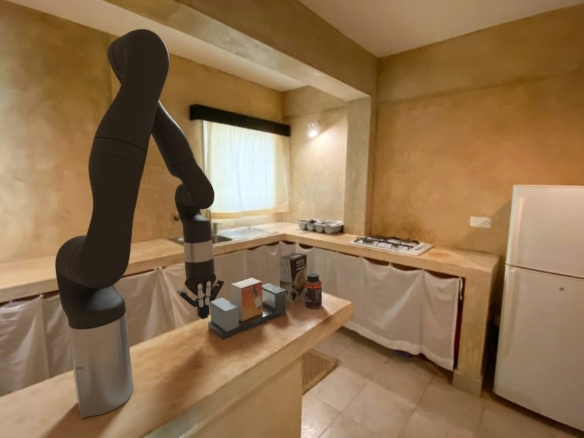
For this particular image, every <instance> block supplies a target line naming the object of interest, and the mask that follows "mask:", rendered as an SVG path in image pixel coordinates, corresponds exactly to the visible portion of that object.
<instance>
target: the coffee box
mask: <svg viewBox="0 0 584 438" xmlns="http://www.w3.org/2000/svg"><path fill="white" fill-rule="evenodd" d="M307 257H308V256H307V254H306V253H299V252H298V253H297V252H293V253H288V254H286V255H283V256H280V257H279V287H280V288H282V289H285V290H286V303H290V304H295V303H297V302H298V301H300V300H301V299H303V298H305V281H306V280H307V274H308V271H307V270H308V269H307V268H308V264H307V260H308V258H307Z"/></svg>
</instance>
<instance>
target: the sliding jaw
mask: <svg viewBox="0 0 584 438" xmlns="http://www.w3.org/2000/svg"><path fill="white" fill-rule="evenodd" d="M209 311H210V321H213V322H214V323H215V324H217V325H218V326H219V327H221V328H222V329H223V330H225V331H226V332H227V331H229V330H232V329H234V328H237V327H239V320H238V306H236V305H234V304H232V301H229V300H227V299H226V298H224V297H219V298H216V299H215V300H214V301H211V302H210V303H209Z"/></svg>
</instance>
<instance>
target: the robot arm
mask: <svg viewBox="0 0 584 438" xmlns="http://www.w3.org/2000/svg"><path fill="white" fill-rule="evenodd" d="M106 53H107V60H108V63H109V65H110V67H111V69H112V72H113V74H114V75H115V77H116V78H117V80H118V82H119V84H120V86H119V89H118V91H117V94H116V95H115V97H114V99H113V100H112V102H111V103H110V105H109V107H108V108H107V110H106V111H105V113H104V115H103V117H102V118H101V120H100V122H99V124H98V126H97V129H96V130H95V133H94V137H93V140H92V144H91V148H90V153H89V157H88V169H87V170H88V171H87V172H88V179H89V185H90V189H91V195H92V213H91V216H90V217H91V218H90V222H89V224H88V228H87V231H86V235H85V234H84V235H78V236H73V237H72V238H69V239H68V240H66V241H65V242H64V243H63V244H62V245H61V246H60V247H59V249H58V251H57V253H56V257H55V263H54V268H55V269H54V270H55V277H56V283H57V288H58V289H57V290H58V294H59V299H60V304H61V307H62V310H63V312H64V314H65V316H66V319H67V323H68V331H69V338H70V344H71V353H72V359H71V362H72V368H73V377H74V384H75V393H76V400H77V401H78V402H77V406H78V411H79V416H80V420H83V419H86V418H88V417H94V416H95V417H96V416H99V415H103V414H107V413H109V412H111V411H113V410H116V409H117V408H120V406H122V405H123V404H124V403H126V402H127V401H128V400H129V399H130V398H131V396H132V395H133V392H134V378H133V370H132V369H133V368H132V361H131V359H132V358H131V349H130V341H129V328H128V319H127V310H126V308H127V307H126V300H125V298H124V297H123V296H122V295H121V293H119V292H118V290H117V288H116V286H115V285H116V284H117V283H118V282H119V281H120V280H121V279H122V278H123V276H124V275H125V273H126V271H127V269H128V267H129V262H130V258H131V249H132V240H133V239H132V238H133V228H134V218H135V212H136V206H137V203H138V198H139V193H140V192H139V191H140V188H141V182H142V177H143V173H144V170H145V167H146V161H147V156H148V153H149V152H148V151H149V146H150V145H149V144H150V140H151V136H152V138H153V140H154V142H155V144H156V147H157V148H158V151H159V153H160V155H161V158H162V160H163V162H164V164H165V166H166V169H167V171H168V172H169V174H170V175H171V176H172V177H175V178H177V179H179V180H180V181H181V183H180V184H178V186H177V187H176V188H175V193H174V202H175V207H176V210H177V213H178V214H177V215H178V217H179V219H180V223H181V224H182V231H183V232H182V234H183V257H184V259H183V260H184V270H185V271H184V272H185V281H184V286H183V287H182V288H181V289H178V290H177V291H176V294H177V296H179V297H180V298H182V299H183V300H184V301H186V302H187V304H189V305H191V306H192V307H193V308H196V312H197V314H196V315H197V316H198V317H199V318H200V319H201V320H205V319H207V318H208V317H209V316H210V302H211V301H214V300H216V299H217V297H218V295H219V293H220V291H221V290H222V288H223V285H224V283H225V282H224V280H222V279H219V278H217V276H216V274H215V271H216V270H215V251H214V245H213V239H212V238H213V237H212V225H211V221H210V220H209V219H208V218H207V217H205V216H204V215H202V214H203V213H202V212H201V210H206V209H209V208H210V207H211V206H212V205H213V204H214V202H215V190H214V187H213V185H212V183H211V181H210V180H209V178H208V176H207V175H206V174H205V172H204V171H203V168H201V167H200V165H199V164H198V162H197V160H196V157H195V154H194V152H193V150H192V147H191V145H190V142H189V140H188V138H187V136H186V134H185V133H184V131H183V130H182V128H181V127H180V126H179V125H178V123H177V122H176V121H175V120H174V118H172V116H171V115H170V113H168V111H167V110H166V109H165V107H164V106H163V104H162V103H161V101H160V98H161V95H162V92H163V89H164V88H165V84H166V80H167V77H168V75H169V72H170V62H171V61H170V54H169V51H168V48H167V46H166V44H165V42H164V40H163V39H162V37H161V36H160V35H158V34H157V33H156V32H154V31H153V30H150V29H145V28H138V29H134V30H130V31H128V32H127V33H125V34H123V35H122V36H119V37H118V38H115V39H114V40H113V41H112V42H111V43H110V44H109V46H108V48H107V51H106ZM189 291H190V292H191V293H192V294H193V297H194V299H193V298H192V297H190V296H189V294H190V292H189Z"/></svg>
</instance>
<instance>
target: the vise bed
mask: <svg viewBox="0 0 584 438" xmlns="http://www.w3.org/2000/svg"><path fill="white" fill-rule="evenodd" d="M262 308H263V313H262V314H260V315H257V316H254V317H252V318H249V319H247V320H245V321H243V322H242V321H240V320H239V319H238V320H239V327H237V328H234V329H232V330H229V331H227V332H226V331H225V330H223V329H222V328H221V327H219V326H218V325H217V324H215V323H214V322H213V321H211V320H209V321H208V322H207V323H208V324H207V325H208V329H209V330H210V331H211V332H213V333H214V334H215V336H218V337H219V338H220V339H221V340H222V341H225V340H227V339H229V338H232V337H234V336H237V335H239V334H241V333H244V332H246V331H248V330H250V329H253V328H255V327H258V326H260V325H263V324H264V323H267V322H269V321H271V320H273V319H276V318H279V317H281V316H283V315H285V314H287V301H286V290H285V289H282V288H280V286H277V285H275V284H272V283H269V282H268V283H265V284H262Z"/></svg>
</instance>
